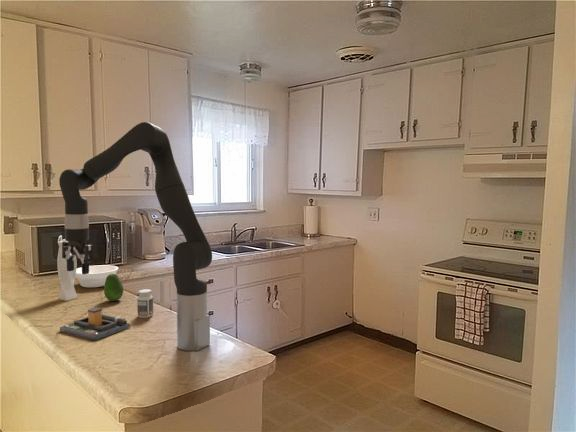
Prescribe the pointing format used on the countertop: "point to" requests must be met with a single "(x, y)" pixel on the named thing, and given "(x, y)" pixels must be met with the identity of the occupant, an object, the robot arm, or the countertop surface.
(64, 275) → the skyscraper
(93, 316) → the lever
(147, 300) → the pill bottle
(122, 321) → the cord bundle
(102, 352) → the countertop surface
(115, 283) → the avocado
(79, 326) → the breaker panel
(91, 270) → the bowl
